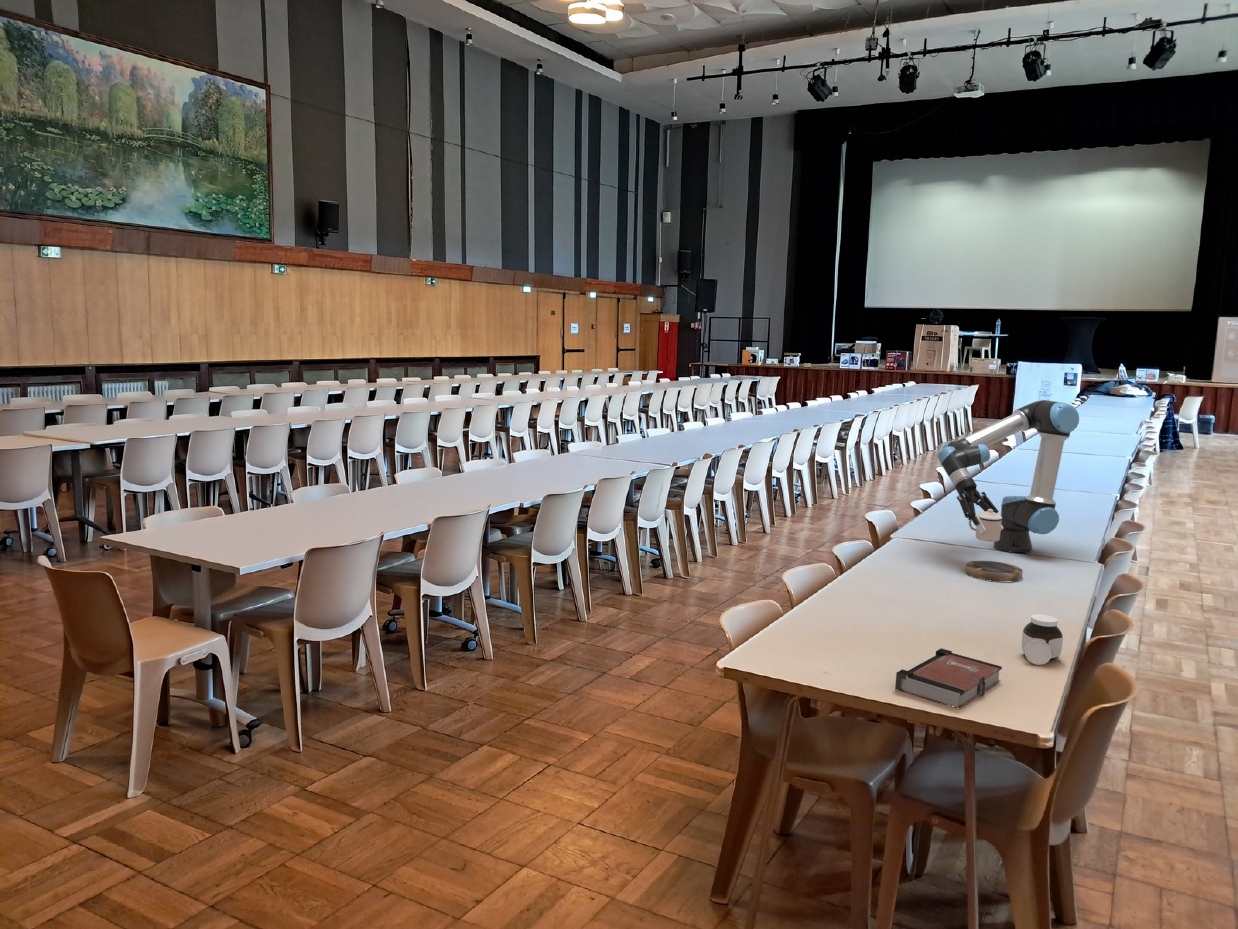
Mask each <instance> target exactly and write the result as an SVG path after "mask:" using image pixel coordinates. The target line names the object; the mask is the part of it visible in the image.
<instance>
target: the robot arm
mask: <svg viewBox="0 0 1238 929" xmlns="http://www.w3.org/2000/svg"><path fill="white" fill-rule="evenodd" d="M1079 423H1080V415H1079V412H1078V410H1077V409H1076V407H1075V406H1074V405H1072V404H1071V403H1066V402H1063V401H1053V400H1046V399H1043V400H1036V401H1033V402H1031V403H1029V404H1026V405H1024V406H1021V407H1019V408H1017V409H1015V410H1014V411H1013V412H1012V414H1011V415H1009V416H1007V417H1004V418H1002V419H1000V420H998V421H996V422H994V423H992V424H989V425H987V426H985V427H984V428H981V429H979V430H977V431H975V432H973V433H971V434H969V435H967V436H965V437H962V438H960V439H958V440H949V441H946V442H945V443H944V444H943V446H942V449H940V450H939V452H938V453H937V458H938V462H939V463H940V465H941V466H942V468H943V469H944V472H945V473H946V474H947V475H946V476H948V478H949V479H950V482H951V483H952V485H953V486H954V489H955V491H956V492H957V494H958V495H957V496H956V499H957V500H958V502H959V504H960V507H961V510H962V513H963V515H964V517H965V518H966V519H967V520H968V521H969V520H972V521H971V522H972V523H973V525H974V526H975V528H976V527H977V529H978V531H979V532H980V534H982V533H984V532H985V531H986V528H985V527H984V525H983V523H982V522H981V520H980V518H979V516H977V514H976V508H975V505H976V506H978V507H980V509H982V511H984V512H986V511H987V510H988V509H992V510H993V512H995V513H996V514H998V513H999V511H1000V510H1001V512H1000V516H1001V517H1002V521H1001V531H1000V540H999V541H996V542H993V548H994V549H995V550H998V549H999V551H1001V550H1003V551H1002V552H1006V551H1011V552H1010V553H1013V552H1029V553H1031V552H1030V551H1032V552H1033V544H1032V539H1031V536H1030V532H1031V533H1033V534H1037V535H1047V534H1050V533H1052V531H1054V530H1055V529H1056V528H1057V526H1058V524H1059V522H1060V516H1059V515H1060V514H1059V513H1058V511H1057V510H1056V506H1057V504H1056V501H1055V500H1054V499H1053V498H1054V495H1055V489H1056V483H1057V480H1058V474H1059V469H1060V464H1061V459H1062V454H1063V449H1064V444H1065V441H1066V440H1068V439H1069V438H1070V435H1071V433H1072V432H1073V431H1074V430H1075V429H1077V427H1078V425H1079ZM1031 429H1038V431H1037V432H1038V435H1039V436H1040V437H1041V438H1040V443H1039V448H1038V453H1037V458H1036V463H1035V467H1034V472H1033V479H1032V483H1031V488H1030V494H1029V495H1026V496H1024V495H1008V496H1007V495H1005V496H1004V497H1003V498H1002V501H1001V504H1000V505H1001V509H1000V510H998V508H997V507H996V506H995V505H994V504H993V502H992V501H991V500H990V498H989V497H988V496H987V494H986V492H985V491H981V492H980V491H979V490H978V489H977V483H976V482H975V480H974V478H973V477H972V475H971V473H970V471H969V469H968V468H970V467H973V466H977V465H982V464H984V463H987V462H989V460H990V459H991V452H990V449H989V446H991V445H993V444H996V443H998V442H1000V441H1002V440H1004V439H1006V438H1008V437H1010V436H1012V435H1014V434H1017V433H1018V432H1027V431H1028V430H1031Z"/></svg>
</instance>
